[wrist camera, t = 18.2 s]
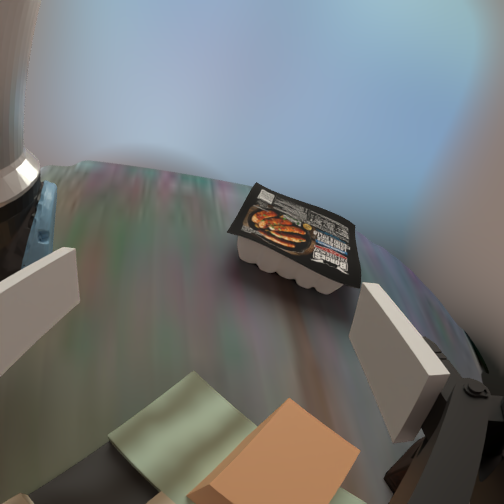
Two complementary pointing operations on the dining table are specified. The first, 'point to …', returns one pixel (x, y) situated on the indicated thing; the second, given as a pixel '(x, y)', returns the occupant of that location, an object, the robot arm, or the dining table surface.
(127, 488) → the board
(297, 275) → the food packaging
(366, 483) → the dining table surface
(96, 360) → the dining table surface
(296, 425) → the terracotta block
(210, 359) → the dining table surface
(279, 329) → the dining table surface
